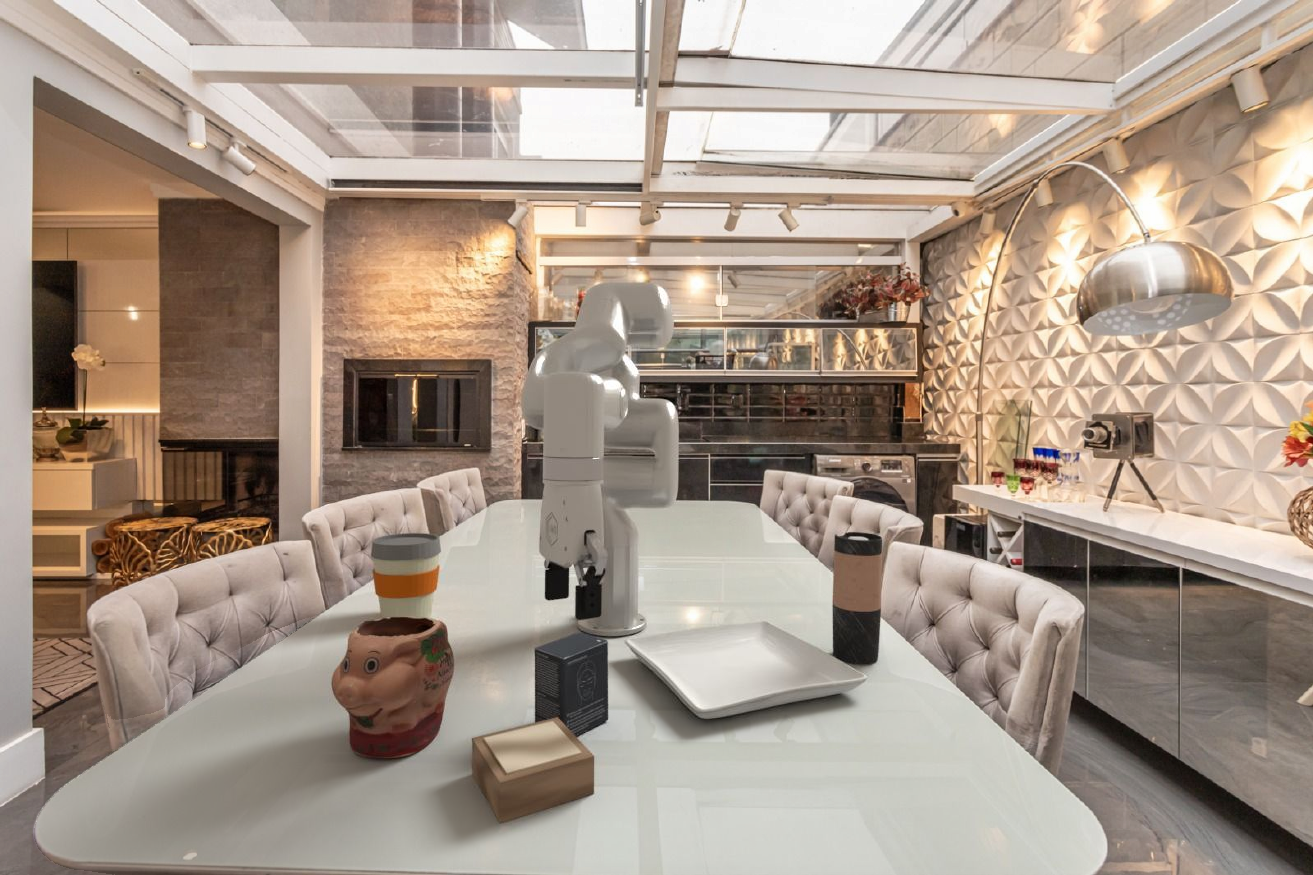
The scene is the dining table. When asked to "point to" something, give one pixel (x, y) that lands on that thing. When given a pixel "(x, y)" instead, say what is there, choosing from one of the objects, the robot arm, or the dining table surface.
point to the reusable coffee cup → (406, 573)
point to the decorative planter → (394, 684)
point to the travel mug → (857, 597)
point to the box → (572, 681)
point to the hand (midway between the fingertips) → (571, 608)
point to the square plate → (742, 667)
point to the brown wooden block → (531, 768)
